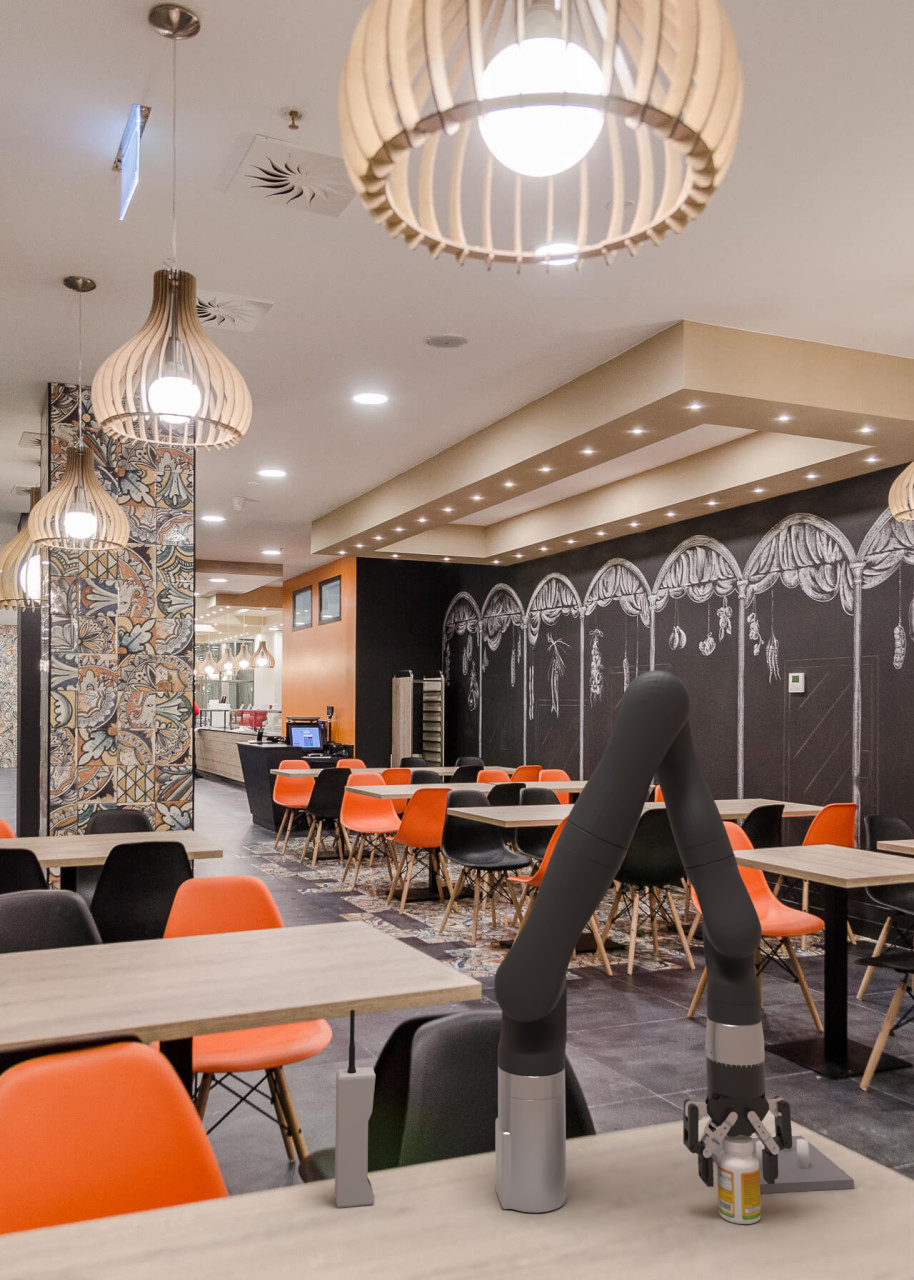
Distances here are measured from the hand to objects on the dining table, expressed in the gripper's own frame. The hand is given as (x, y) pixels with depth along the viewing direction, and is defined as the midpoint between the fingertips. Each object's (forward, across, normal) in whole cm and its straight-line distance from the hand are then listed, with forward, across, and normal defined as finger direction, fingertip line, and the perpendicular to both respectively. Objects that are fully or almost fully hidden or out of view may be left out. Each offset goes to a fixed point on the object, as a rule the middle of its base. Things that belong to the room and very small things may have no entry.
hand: (738, 1183), depth 131 cm
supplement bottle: (+4, 0, 0) cm, 4 cm away
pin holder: (+4, +11, +14) cm, 18 cm away
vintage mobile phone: (+4, -50, +10) cm, 51 cm away
